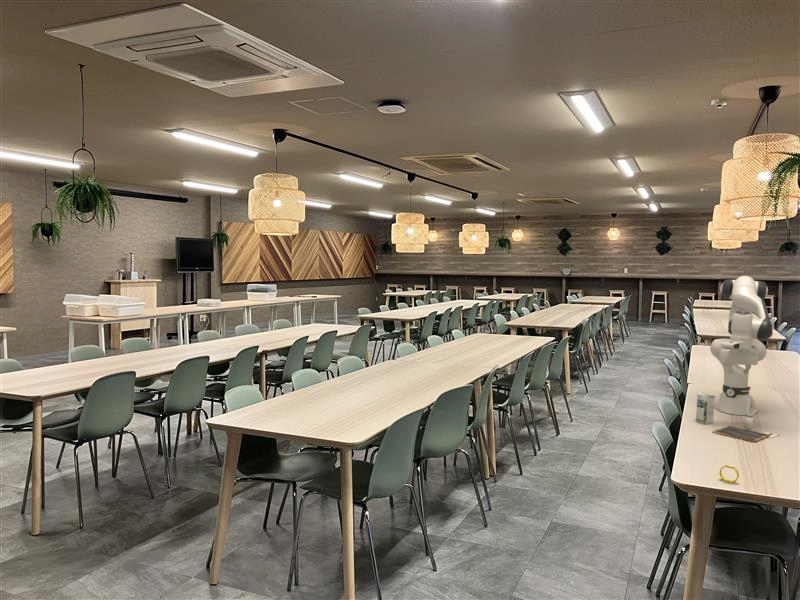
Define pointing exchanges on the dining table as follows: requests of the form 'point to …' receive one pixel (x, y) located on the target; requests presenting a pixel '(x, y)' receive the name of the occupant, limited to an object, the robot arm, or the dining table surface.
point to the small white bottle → (749, 421)
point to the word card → (771, 434)
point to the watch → (729, 467)
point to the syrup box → (705, 408)
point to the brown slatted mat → (741, 434)
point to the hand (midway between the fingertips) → (738, 373)
